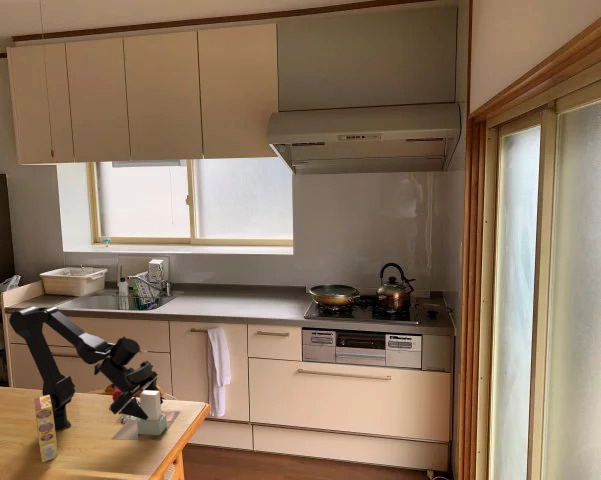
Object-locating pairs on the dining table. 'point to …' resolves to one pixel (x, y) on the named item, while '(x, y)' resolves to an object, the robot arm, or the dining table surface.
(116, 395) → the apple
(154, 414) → the tall beige block
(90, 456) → the dining table surface
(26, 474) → the dining table surface
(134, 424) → the walnut board
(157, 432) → the slot box
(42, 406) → the candy box
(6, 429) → the dining table surface
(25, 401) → the dining table surface
